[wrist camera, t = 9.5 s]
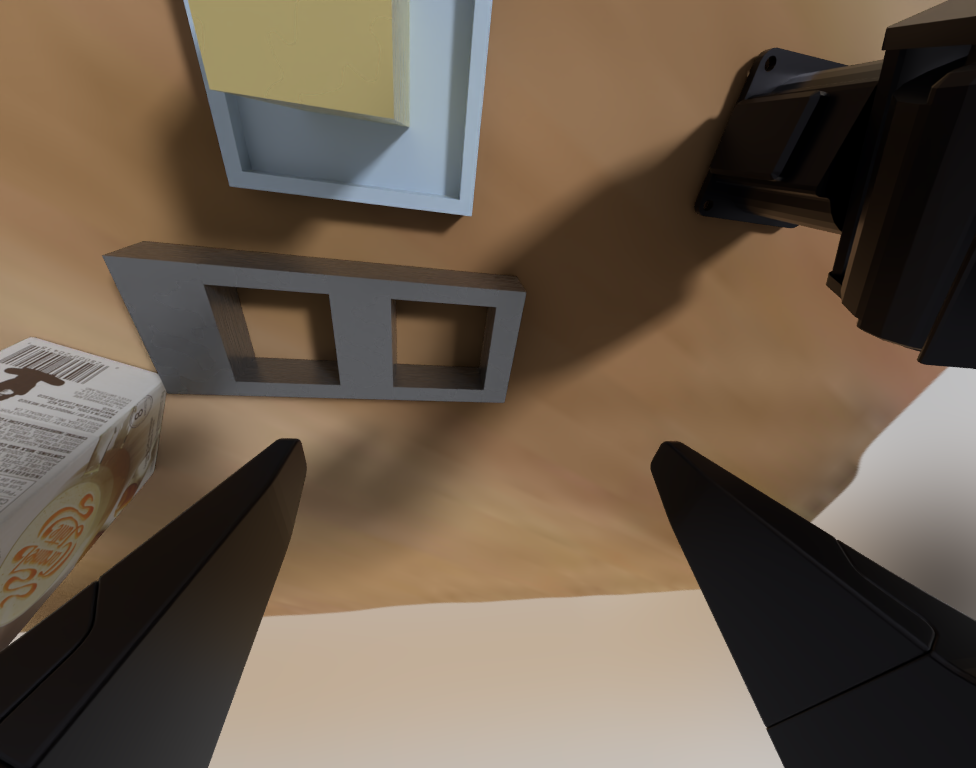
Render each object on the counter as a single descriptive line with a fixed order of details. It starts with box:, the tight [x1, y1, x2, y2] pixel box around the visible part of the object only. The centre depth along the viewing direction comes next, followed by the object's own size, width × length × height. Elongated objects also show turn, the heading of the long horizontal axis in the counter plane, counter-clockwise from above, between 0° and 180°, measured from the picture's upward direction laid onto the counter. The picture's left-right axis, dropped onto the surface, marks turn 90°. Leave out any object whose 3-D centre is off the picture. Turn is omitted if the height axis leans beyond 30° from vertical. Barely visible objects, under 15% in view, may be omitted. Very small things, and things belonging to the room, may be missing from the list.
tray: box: [184, 0, 492, 216], centre depth 13 cm, size 10×10×2 cm
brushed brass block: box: [188, 0, 410, 127], centre depth 10 cm, size 4×4×7 cm
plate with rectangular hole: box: [102, 241, 526, 403], centre depth 19 cm, size 18×7×2 cm, turn 83°
